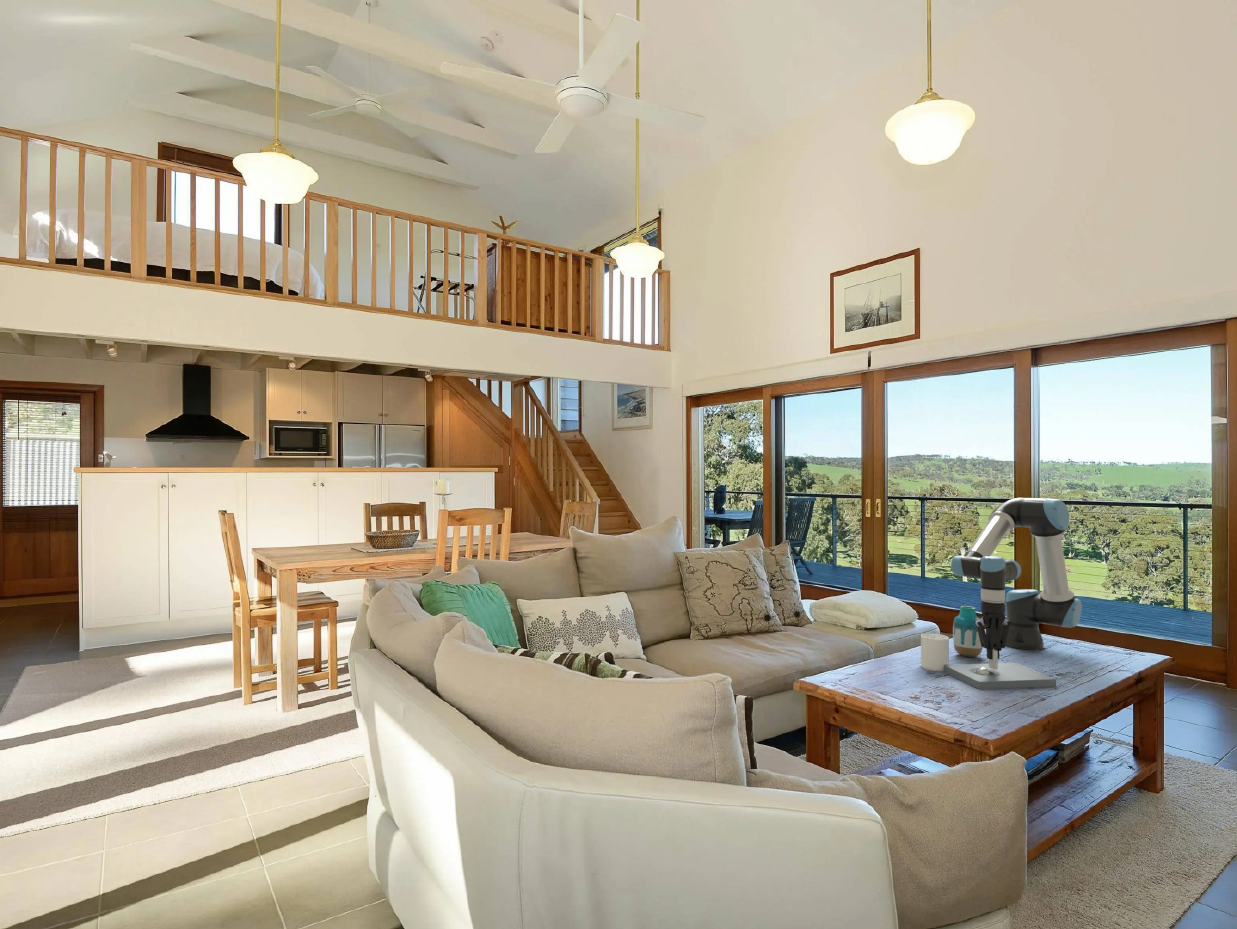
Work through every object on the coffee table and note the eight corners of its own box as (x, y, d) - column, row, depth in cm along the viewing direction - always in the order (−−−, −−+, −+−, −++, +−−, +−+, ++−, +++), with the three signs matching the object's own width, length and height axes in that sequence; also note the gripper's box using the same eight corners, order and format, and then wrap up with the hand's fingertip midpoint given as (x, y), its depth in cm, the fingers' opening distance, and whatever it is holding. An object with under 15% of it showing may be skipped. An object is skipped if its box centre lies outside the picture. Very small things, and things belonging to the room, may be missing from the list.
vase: (947, 654, 272) (946, 606, 272) (965, 651, 276) (965, 603, 276) (970, 661, 262) (970, 610, 262) (989, 657, 267) (989, 608, 267)
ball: (985, 667, 241) (976, 664, 240) (993, 672, 237) (984, 668, 237) (981, 678, 241) (972, 675, 240) (989, 682, 237) (980, 679, 237)
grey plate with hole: (1015, 669, 251) (1015, 662, 251) (1056, 686, 231) (1056, 679, 231) (943, 671, 248) (943, 664, 248) (979, 689, 228) (979, 681, 228)
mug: (937, 673, 246) (937, 640, 246) (909, 664, 257) (909, 633, 257) (954, 669, 251) (954, 637, 251) (926, 661, 261) (926, 631, 261)
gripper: (1002, 598, 244) (1003, 664, 244) (968, 599, 242) (969, 665, 242) (1017, 602, 236) (1017, 670, 236) (982, 603, 235) (982, 672, 235)
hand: (993, 668), depth 239 cm, fingers closed
